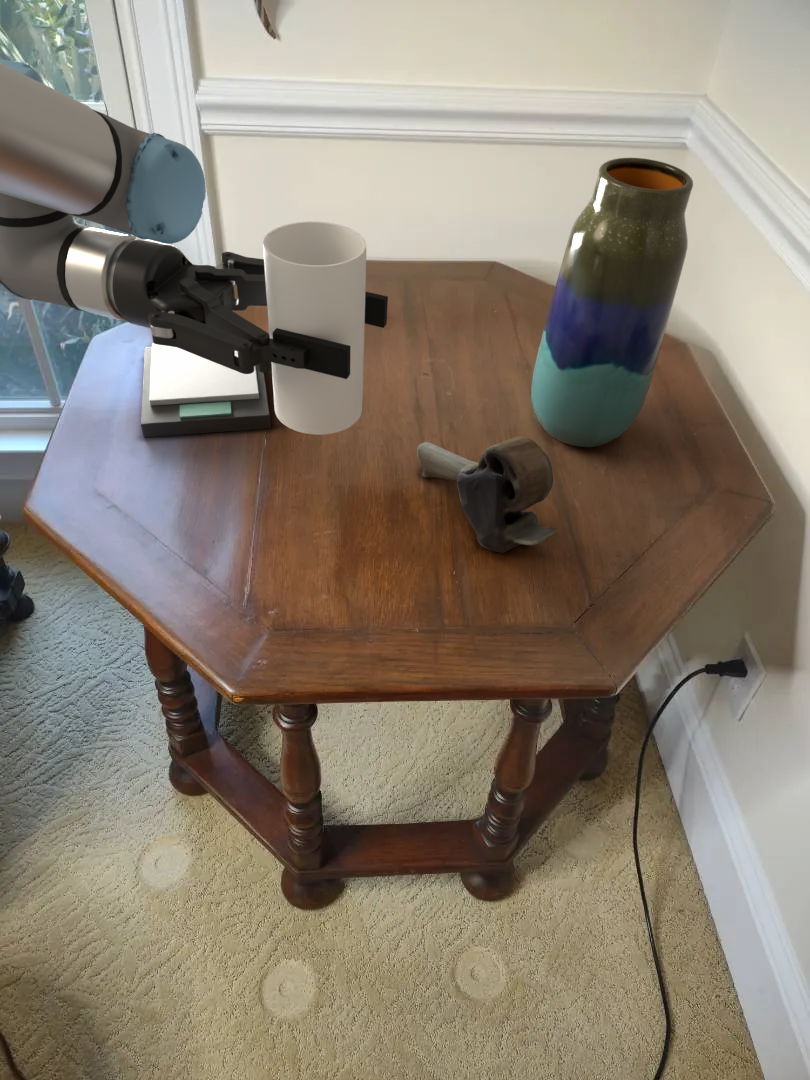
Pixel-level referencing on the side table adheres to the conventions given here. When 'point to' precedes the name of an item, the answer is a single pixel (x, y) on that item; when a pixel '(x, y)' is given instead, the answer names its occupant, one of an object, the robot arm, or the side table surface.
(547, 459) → the grey two-tone handled device
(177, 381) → the scale
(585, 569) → the side table surface
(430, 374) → the side table surface
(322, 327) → the cup
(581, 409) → the vase
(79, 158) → the robot arm
